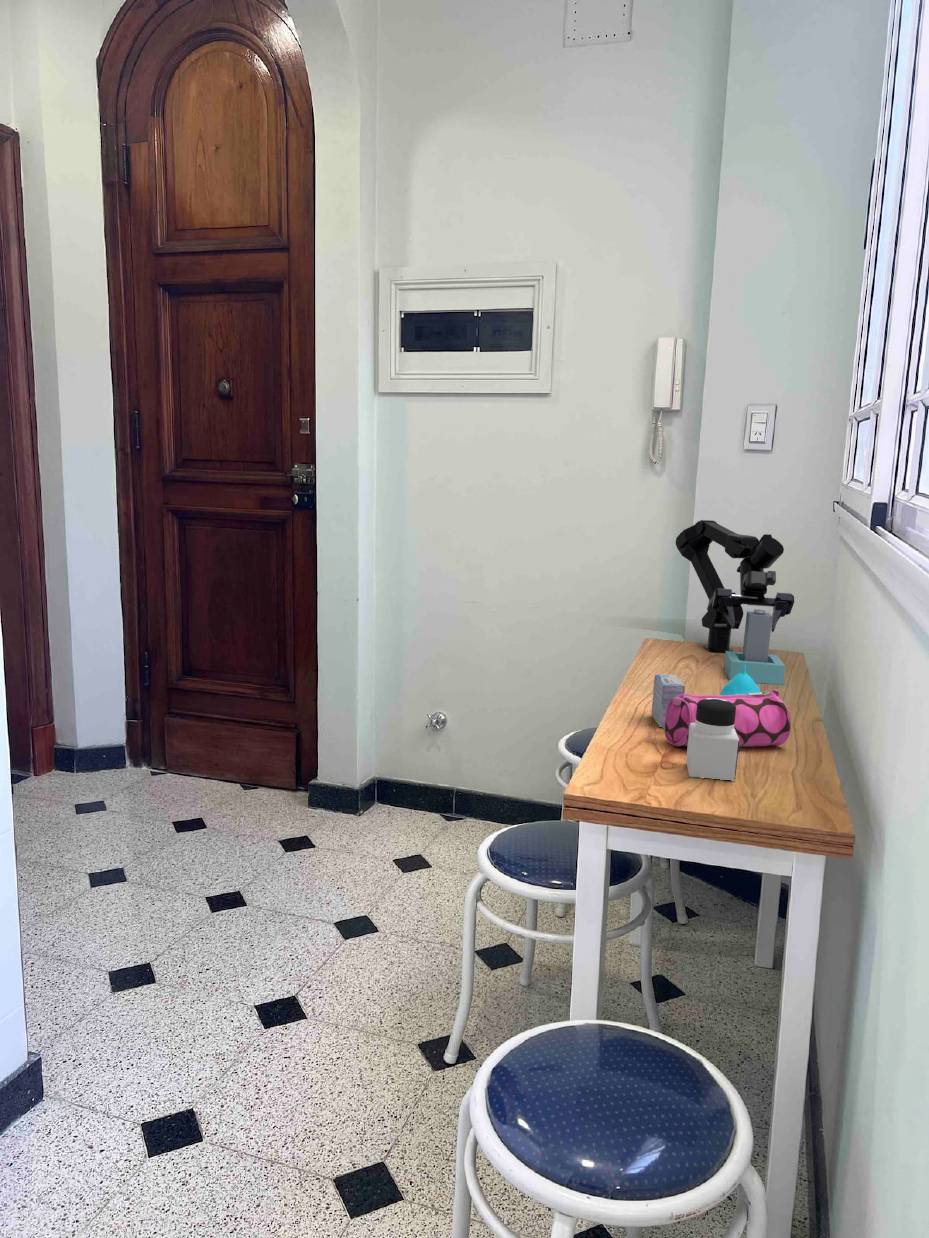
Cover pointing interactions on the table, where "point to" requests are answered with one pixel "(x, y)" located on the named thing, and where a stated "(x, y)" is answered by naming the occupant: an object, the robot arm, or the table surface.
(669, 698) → the medicine box
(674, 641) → the table surface
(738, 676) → the toy shark
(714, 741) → the medicine bottle
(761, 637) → the grey knobbed block
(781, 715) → the pencil case
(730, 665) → the teal base brick
